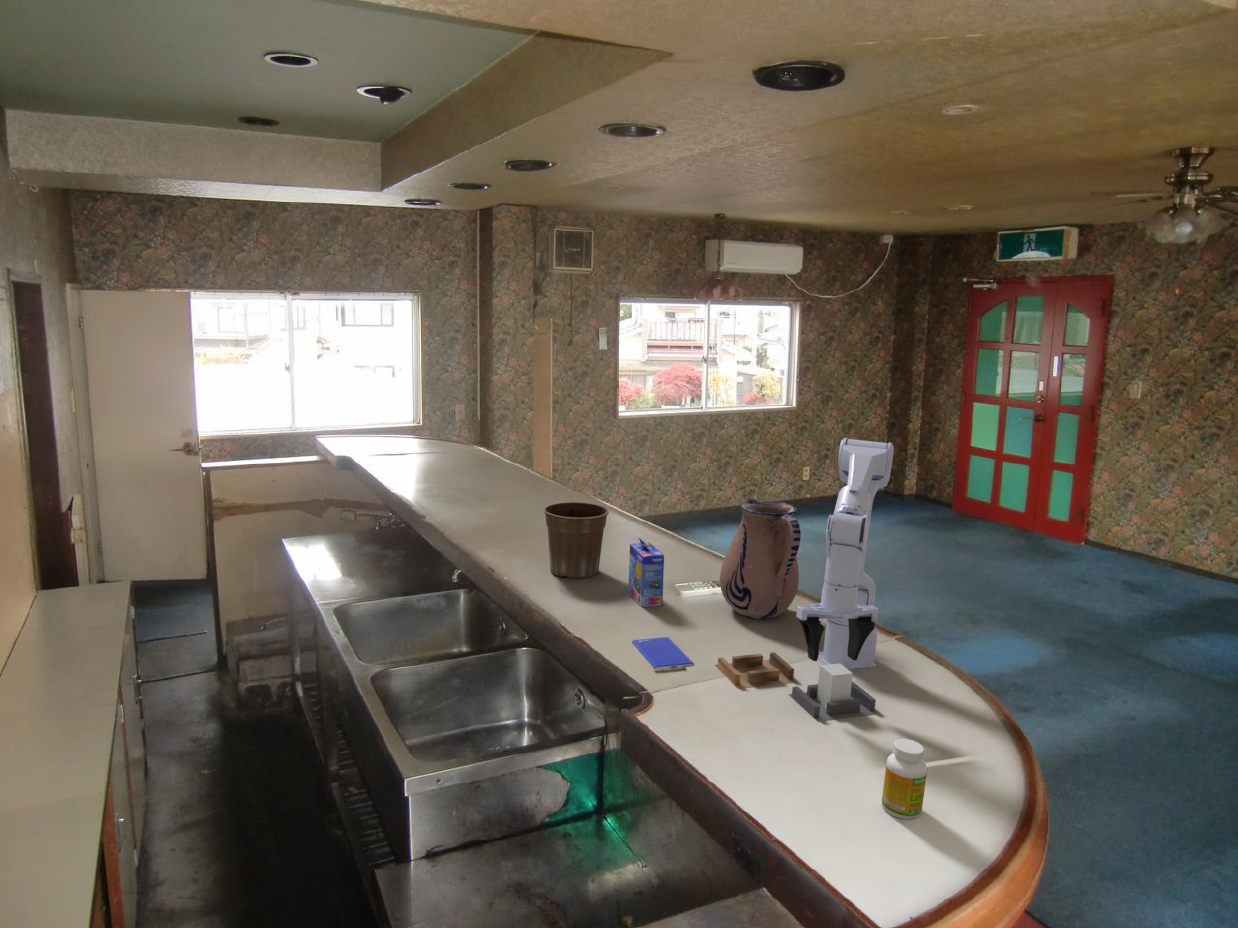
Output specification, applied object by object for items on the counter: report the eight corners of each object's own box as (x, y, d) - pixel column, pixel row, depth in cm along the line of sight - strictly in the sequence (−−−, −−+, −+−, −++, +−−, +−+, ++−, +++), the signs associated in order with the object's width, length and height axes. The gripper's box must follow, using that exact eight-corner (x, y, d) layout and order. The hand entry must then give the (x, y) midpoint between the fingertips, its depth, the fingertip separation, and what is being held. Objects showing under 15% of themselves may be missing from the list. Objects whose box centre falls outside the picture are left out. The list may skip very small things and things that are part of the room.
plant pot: (529, 566, 214) (531, 504, 211) (583, 557, 223) (585, 498, 220) (563, 586, 201) (565, 520, 198) (618, 575, 210) (621, 513, 207)
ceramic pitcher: (758, 593, 203) (767, 492, 198) (824, 624, 186) (835, 514, 181) (701, 605, 193) (709, 499, 188) (764, 638, 176) (775, 523, 171)
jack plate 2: (846, 690, 155) (847, 677, 154) (878, 716, 145) (880, 703, 145) (787, 696, 151) (789, 683, 150) (817, 724, 141) (818, 710, 141)
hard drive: (631, 639, 169) (654, 666, 158) (669, 636, 172) (694, 662, 161) (631, 647, 170) (653, 674, 158) (668, 643, 172) (693, 669, 161)
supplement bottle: (911, 825, 115) (920, 760, 113) (874, 808, 119) (882, 745, 117) (927, 809, 119) (936, 746, 117) (891, 793, 123) (898, 731, 121)
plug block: (836, 697, 150) (840, 663, 149) (848, 707, 147) (852, 673, 145) (816, 699, 149) (820, 665, 148) (828, 710, 145) (832, 675, 144)
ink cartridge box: (626, 592, 199) (629, 533, 196) (648, 591, 201) (651, 532, 198) (640, 607, 190) (643, 546, 187) (663, 606, 192) (667, 545, 189)
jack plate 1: (770, 661, 165) (771, 649, 165) (796, 684, 156) (797, 671, 155) (714, 667, 161) (715, 654, 161) (737, 690, 152) (738, 678, 151)
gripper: (813, 589, 139) (805, 668, 141) (891, 589, 143) (882, 666, 144) (794, 577, 146) (786, 652, 147) (869, 577, 149) (860, 651, 151)
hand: (832, 658), depth 146 cm, fingers open, 7 cm apart
